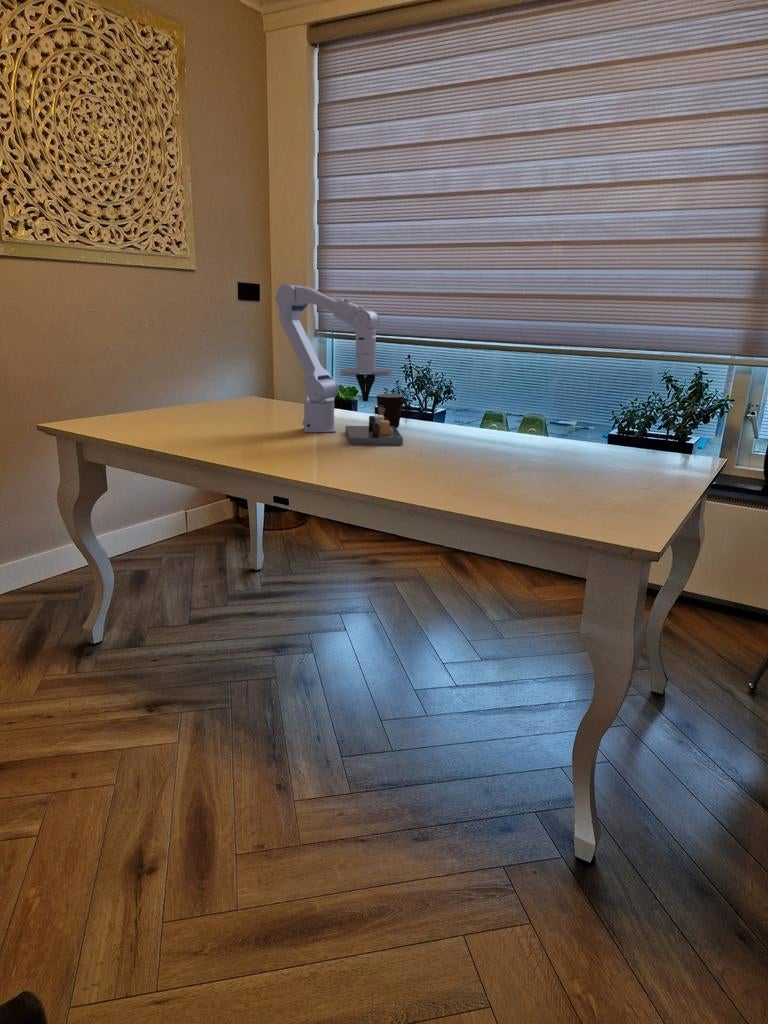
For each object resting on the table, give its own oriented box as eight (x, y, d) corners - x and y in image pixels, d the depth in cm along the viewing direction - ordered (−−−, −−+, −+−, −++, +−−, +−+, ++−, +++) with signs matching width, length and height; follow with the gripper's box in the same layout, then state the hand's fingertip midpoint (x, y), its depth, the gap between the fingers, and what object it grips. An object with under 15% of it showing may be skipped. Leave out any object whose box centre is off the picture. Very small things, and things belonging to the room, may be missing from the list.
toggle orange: (381, 434, 190) (381, 422, 189) (379, 431, 194) (379, 420, 193) (389, 434, 190) (389, 422, 189) (387, 432, 194) (388, 420, 193)
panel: (349, 444, 185) (350, 423, 183) (345, 432, 202) (345, 412, 200) (402, 445, 187) (403, 424, 185) (394, 432, 204) (394, 413, 202)
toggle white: (375, 428, 198) (376, 417, 197) (374, 426, 202) (374, 414, 201) (383, 428, 199) (384, 417, 198) (382, 426, 202) (382, 414, 201)
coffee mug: (372, 424, 217) (373, 393, 213) (397, 423, 219) (398, 393, 216) (383, 431, 206) (384, 398, 203) (409, 430, 209) (410, 398, 205)
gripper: (341, 354, 186) (341, 402, 190) (392, 354, 188) (391, 402, 192) (339, 352, 193) (340, 399, 197) (389, 352, 194) (388, 399, 198)
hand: (365, 401), depth 195 cm, fingers closed
